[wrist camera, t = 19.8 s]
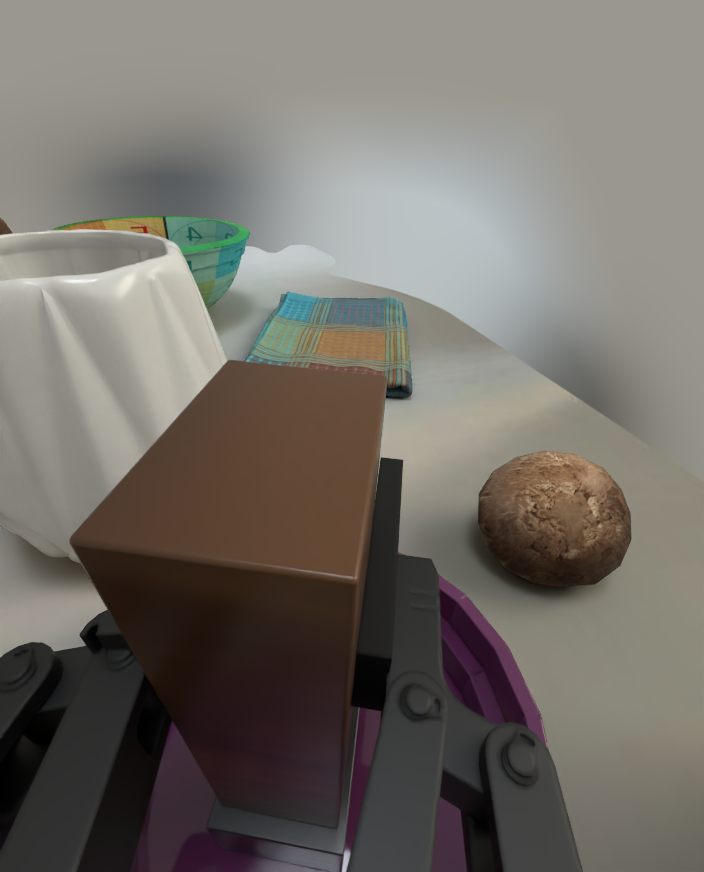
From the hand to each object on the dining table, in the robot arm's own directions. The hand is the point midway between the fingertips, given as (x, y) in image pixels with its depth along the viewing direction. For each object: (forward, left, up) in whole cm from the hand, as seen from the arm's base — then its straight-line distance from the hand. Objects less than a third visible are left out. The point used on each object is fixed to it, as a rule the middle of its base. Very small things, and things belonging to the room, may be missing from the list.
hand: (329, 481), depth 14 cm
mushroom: (-12, -7, -10) cm, 17 cm away
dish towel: (+5, -34, -10) cm, 35 cm away
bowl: (+28, -39, -10) cm, 49 cm away
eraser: (0, +5, -9) cm, 11 cm away
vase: (+13, -7, -10) cm, 18 cm away
